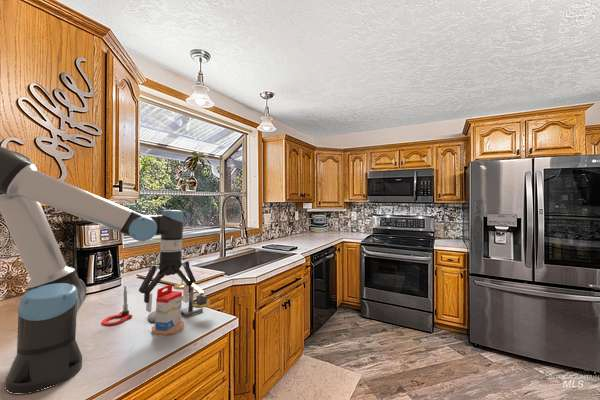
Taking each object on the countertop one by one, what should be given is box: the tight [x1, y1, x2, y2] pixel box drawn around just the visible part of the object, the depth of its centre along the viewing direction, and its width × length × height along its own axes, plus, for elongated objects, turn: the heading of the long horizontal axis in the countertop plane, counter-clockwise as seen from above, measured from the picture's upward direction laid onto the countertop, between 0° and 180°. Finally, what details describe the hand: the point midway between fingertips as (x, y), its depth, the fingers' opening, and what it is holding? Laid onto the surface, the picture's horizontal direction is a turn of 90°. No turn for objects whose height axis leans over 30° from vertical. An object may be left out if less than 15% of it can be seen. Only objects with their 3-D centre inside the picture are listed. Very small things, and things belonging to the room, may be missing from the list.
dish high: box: [147, 310, 156, 324], centre depth 110 cm, size 11×11×1 cm
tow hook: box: [101, 285, 133, 327], centre depth 106 cm, size 8×13×9 cm
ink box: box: [154, 283, 183, 331], centre depth 100 cm, size 8×5×15 cm, turn 168°
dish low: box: [151, 319, 185, 337], centre depth 100 cm, size 11×11×1 cm
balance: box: [173, 277, 211, 318], centre depth 115 cm, size 8×24×15 cm, turn 50°
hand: (167, 306), depth 100 cm, fingers open, 13 cm apart
